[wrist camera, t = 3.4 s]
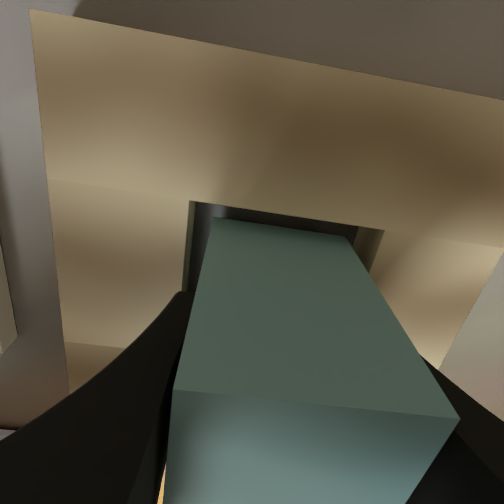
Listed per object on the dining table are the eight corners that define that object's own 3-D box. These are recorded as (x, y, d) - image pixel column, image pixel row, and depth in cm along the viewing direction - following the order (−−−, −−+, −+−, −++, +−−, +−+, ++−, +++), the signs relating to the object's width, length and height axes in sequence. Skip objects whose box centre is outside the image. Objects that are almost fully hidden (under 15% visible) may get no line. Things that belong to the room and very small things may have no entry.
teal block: (312, 338, 14) (369, 557, 7) (200, 324, 13) (159, 544, 7) (345, 236, 12) (460, 418, 5) (213, 217, 11) (173, 388, 5)
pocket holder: (379, 407, 17) (394, 446, 15) (91, 377, 16) (71, 415, 14) (524, 108, 11) (579, 115, 9) (68, 20, 10) (29, 8, 8)
